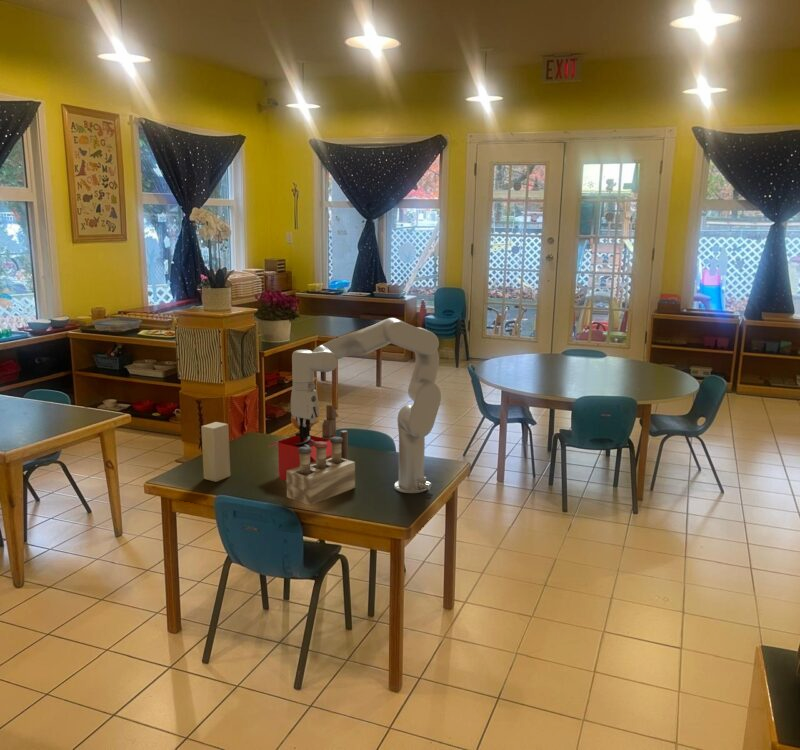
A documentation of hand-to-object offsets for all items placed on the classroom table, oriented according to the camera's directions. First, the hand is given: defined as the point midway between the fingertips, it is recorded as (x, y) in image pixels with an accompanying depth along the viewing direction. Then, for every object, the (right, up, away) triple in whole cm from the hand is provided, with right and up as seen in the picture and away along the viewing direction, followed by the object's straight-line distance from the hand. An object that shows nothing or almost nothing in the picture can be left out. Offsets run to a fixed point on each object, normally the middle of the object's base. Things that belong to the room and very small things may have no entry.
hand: (304, 436), depth 258 cm
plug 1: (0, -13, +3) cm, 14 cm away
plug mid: (+5, -12, +9) cm, 16 cm away
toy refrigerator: (-37, -18, +25) cm, 49 cm away
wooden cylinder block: (+5, -21, +11) cm, 24 cm away
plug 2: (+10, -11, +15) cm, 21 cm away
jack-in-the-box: (-4, -18, +28) cm, 33 cm away
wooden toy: (+7, -15, +41) cm, 44 cm away
